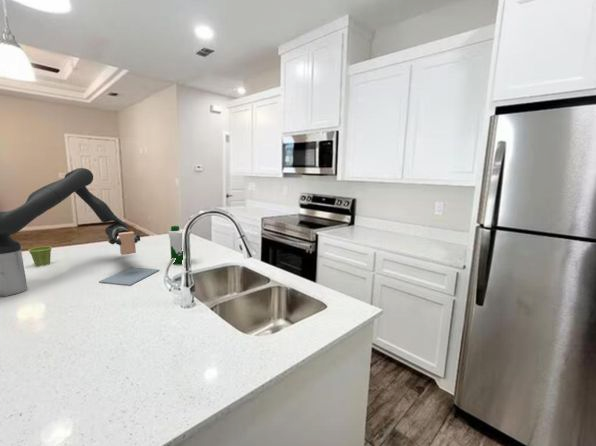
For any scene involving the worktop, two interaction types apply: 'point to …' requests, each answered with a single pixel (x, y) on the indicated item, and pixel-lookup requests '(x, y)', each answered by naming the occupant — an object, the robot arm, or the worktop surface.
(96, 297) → the worktop surface
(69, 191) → the robot arm
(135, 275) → the mat
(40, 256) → the plant pot
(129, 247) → the terracotta block
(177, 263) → the milk carton
